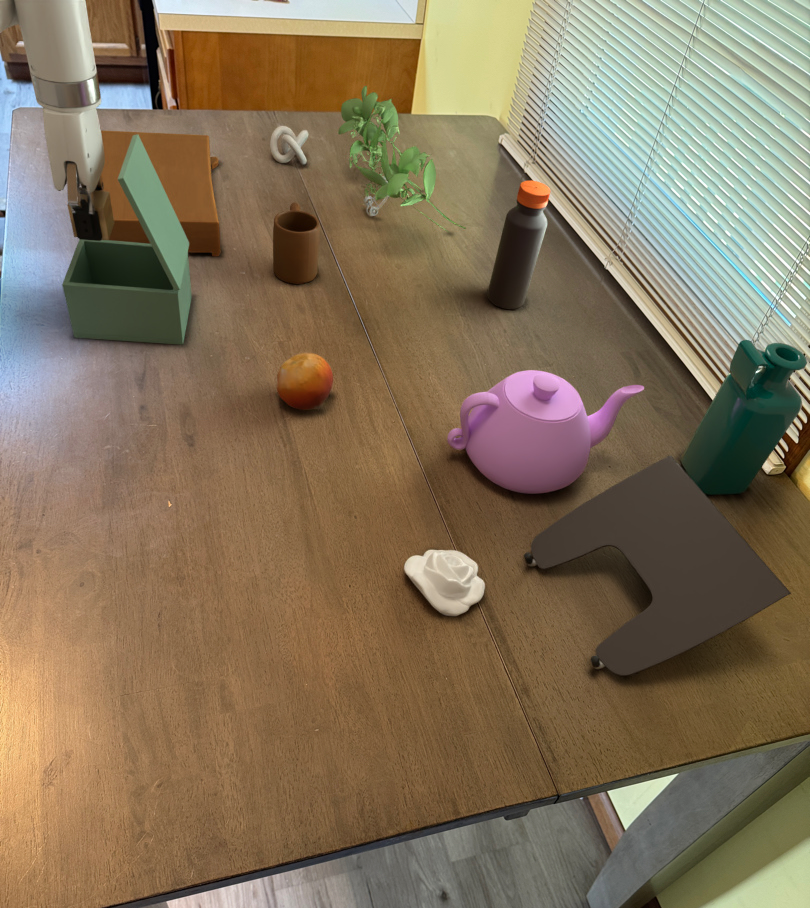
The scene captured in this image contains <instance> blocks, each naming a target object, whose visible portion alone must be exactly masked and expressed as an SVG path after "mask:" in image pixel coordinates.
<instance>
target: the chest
mask: <svg viewBox="0 0 810 908" xmlns="http://www.w3.org/2000/svg"><path fill="white" fill-rule="evenodd" d="M190 273H191V272H190V262H189V252H188V253H187V258H186V263H185V268H184V273H183V278H182V283H181V288H180V290H178V291H175V290H174V288H173V286H172V284H171V282H170V280H169V278H168V277H167V275H166V273H165V271H164V269H163V267H162V265H161V263H160V261H159V259H158V257H157V255H156V253H155V251H154V249H153V247H152V245H151V244H147V243H136V242H124V241H112V240H101V241H94V240H81V239H79V238H78V241H77V243H76V247H75V250H74V253H73V255H72V257H71V260H70V262H69V265H68V268H67V270H66V273H65V277H64V278H63V282H62V284H61V286H62V290H63V294H64V300H65V304H66V308H67V312H68V317H69V321H70V325H71V329H72V334H73V338H76V339H89V340H91V339H92V340H93V339H94V340H103V341H104V340H105V341H119V342H136V343H150V344H164V345H165V344H168V345H181V346H182V345H184V342H185V337H186V336H185V335H186V330H187V325H188V319H189V315H190V314H189V313H190V309H191V304H192V299H193V298H192V297H193V295H192V286H191V285H192V283H191V274H190Z"/></svg>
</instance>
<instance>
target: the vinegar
mask: <svg viewBox="0 0 810 908" xmlns="http://www.w3.org/2000/svg"><path fill="white" fill-rule="evenodd" d="M550 195H551V188H550V187H549V186H548V185H546V184H544V182H540V181H537V180H524V181H522V182H520V183H519V188H518V191H517V195H516V200H515V201H516V205H515V206H514V207H512V208H511V209H509V210H508V212H507V213H506V215H505V219H504V223H503V226H502V232H501V235H500V240H499V244H498V247H497V252H496V256H495V259H494V263H493V268H492V272H491V276H490V280H489V284H488V289H487V293H486V294H487V299H488V300H489V302H491V304H493V305H495V306H496V307H499V308H501V309H505V310H515V309H519V308H521V307H522V306H523V305H524V304H525V302H526V299H527V294H528V293H529V292H528V291H529V288H530V285H531V281H532V279H533V274H534V271H535V268H536V264H537V261H538V259H539V258H538V257H539V254H540V251H541V247H542V244H543V241H544V237H545V233H546V231H547V227H548V219H547V217H546V215H545V213H544V210H545V209H546V208H547V205H548V203H549V198H550Z"/></svg>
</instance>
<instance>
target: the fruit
mask: <svg viewBox="0 0 810 908" xmlns="http://www.w3.org/2000/svg"><path fill="white" fill-rule="evenodd" d="M276 379H277V382H276V383H277V384H276V390H277V394H278V396H279V398H280V399H281V400H282V401H283V402H284V403H286V405H288V406H290V407H291V408H293V409H297V410H300V411H310V410H318V411H321V406H322V405H323V404H324V402H325V401H326V400H327V398H328V397H331V391H332V389H333V385H334V374H333V371H332V368H331V365H330V364H329V362H328V361H327V360H326V359H325V358H324V357H323V356H320V354H319V355H318V354H316V353H313V352H300V353H298V354H294V355H293V356H291V357H289V358H288V359H286V360H285V361H284V362H283V363H282V365H280V367H279V370H278V372H277V378H276Z"/></svg>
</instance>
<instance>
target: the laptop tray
mask: <svg viewBox="0 0 810 908" xmlns="http://www.w3.org/2000/svg"><path fill="white" fill-rule="evenodd" d="M605 547H613V548H616V549H617V550H619V551H620V552H621V554H622V555H623V556H624V557H625V559H626V560H627V561H628V562H629V564H630V565H631V567H633V569H634V570H635V571H636V573H637V574H638V576H639V577H640V578H641V580H642V581H643V582H644V585H646V587H647V588H648V590H649V591H650V593H651V596H652V600H651V603H650V604H649V606H648V607H647V608H646V609H644V610H642V611H641V612H640V613H637V615H634V617H632V618H631V619H630V620H628V621H626V622H625V623H624V624H622V625H621V626H620V627H619V628H617V629H616V630H614V632H612V633H611V634H609V636H608V637H606V638H605V639H603V641H602V642H600V643H599V644H598V645H597V646H596V648H595V654H596V655H592V656H591V658H590V661H591V665H592V668H593V669H595V670H600V669H603V668H606V669H608V671H609V672H611V673H613V674H614V675H617V676H621V677H627V676H631V675H638V674H639V672H643V671H644V670H647V669H650V668H652V667H654V666H657V665H660V664H663V662H666V661H668V660H671V659H673V658H675V657H677V656H679V655H682V654H683V653H686V652H688V651H690V650H692V649H694V648H696V647H698V646H700V645H702V644H704V643H706V642H708V641H710V640H712V639H713V638H716V637H717V636H719V635H721V634H723V633H725V632H726V631H729V630H730V629H732V628H734V627H736V626H737V625H739V624H741V623H743V622H745V621H747V620H748V619H750V618H752V617H754V616H755V615H757V614H759V613H760V612H762V611H764V610H765V609H767V608H769V607H771V606H772V605H774V604H775V603H778V602H779V601H780V600H782V599H784V598H785V597H787V596H790V595H792V592H791V591H790V590H789V589H788V587H787V586H786V585H785V584H784V583H783V582H782V580H780V579H779V578H778V576H777V575H776V574H775V573H774V572H773V570H772V569H771V568H770V567H769V565H767V564H766V563H765V562H764V560H763V559H762V558H761V557H760V556H759V554H758V553H757V552H756V551H755V550H754V549H753V548H752V546H750V543H748V542H747V541H746V539H745V538H744V537H743V536H742V535H741V534H740V533H739V531H738V530H737V529H736V528H735V527H734V526H733V525H732V524H731V523H730V521H729V520H728V519H727V518H726V517H725V516H724V514H723V513H722V512H721V511H720V510H719V509H718V507H717V506H716V505H715V504H714V503H713V502H712V500H711V499H710V498H709V497H708V496H707V494H704V493H703V492H702V490H701V489H700V488H699V487H698V486H697V485H696V484H695V482H694V481H693V480H692V479H691V478H690V477H689V476H688V474H687V472H686V470H685V469H684V468H683V467H682V465H680V464H679V462H677V460H676V459H675V458H674V457H673V456H672V455H671V454H669V455H667V456H666V457H663V458H662V459H660V460H658V461H656V462H654V463H652V464H650V465H648V466H646V467H645V468H643V469H641V470H639V471H638V472H637V471H636V473H633V474H632V475H630V476H628V477H627V478H624V479H623V480H621V481H619V482H618V483H616V484H613V485H612V486H610V487H608V488H607V489H606V490H604V491H602V492H600V493H599V494H597V495H595V496H593V497H591V498H590V499H589V500H587V501H585V502H584V503H582V504H580V505H579V506H577V507H576V508H574V509H573V510H571V511H570V512H568V513H567V514H565V515H563V516H562V517H560V518H559V519H558V520H556V521H554V522H553V523H552V524H550V525H549V526H548V527H546V528H545V529H543V530H542V531H541V532H539V533H538V534H536V536H535V537H534V538H533V539H532V542H531V543H530V551H531V552H525V553H524V554H523V558H524V561H525V563H526V565H527V566H528V567H535V566H538V569H540V570H549V569H552V568H555V567H557V566H561V565H564V564H566V563H569V562H572V561H574V560H576V559H580V558H581V557H584V556H586V555H588V554H590V553H593V552H594V551H597V550H599V549H602V548H605Z"/></svg>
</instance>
